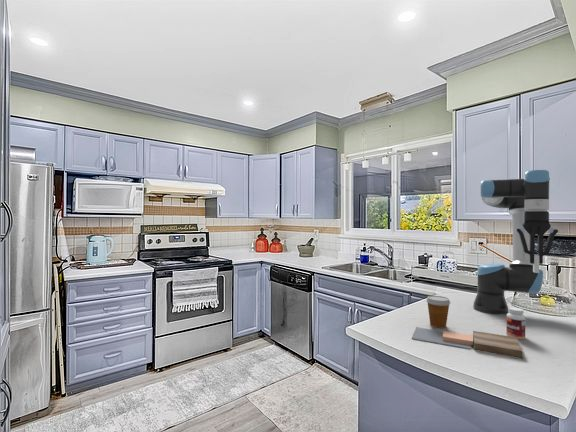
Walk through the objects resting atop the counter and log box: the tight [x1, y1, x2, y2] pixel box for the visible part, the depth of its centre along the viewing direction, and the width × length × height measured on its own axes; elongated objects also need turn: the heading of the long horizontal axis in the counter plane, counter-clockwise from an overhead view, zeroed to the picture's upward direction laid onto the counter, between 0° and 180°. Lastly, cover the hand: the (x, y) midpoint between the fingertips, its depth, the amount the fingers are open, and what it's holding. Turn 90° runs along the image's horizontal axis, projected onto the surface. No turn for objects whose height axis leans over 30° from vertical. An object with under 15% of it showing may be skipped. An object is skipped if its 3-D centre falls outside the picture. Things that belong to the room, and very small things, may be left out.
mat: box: [411, 326, 472, 350], centre depth 126 cm, size 14×20×1 cm
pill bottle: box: [505, 307, 527, 340], centre depth 128 cm, size 6×6×11 cm
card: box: [442, 330, 474, 346], centre depth 123 cm, size 7×10×2 cm
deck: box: [472, 330, 523, 359], centre depth 118 cm, size 14×14×2 cm
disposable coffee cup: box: [426, 295, 451, 329], centre depth 140 cm, size 10×10×12 cm
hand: (536, 272), depth 123 cm, fingers closed
